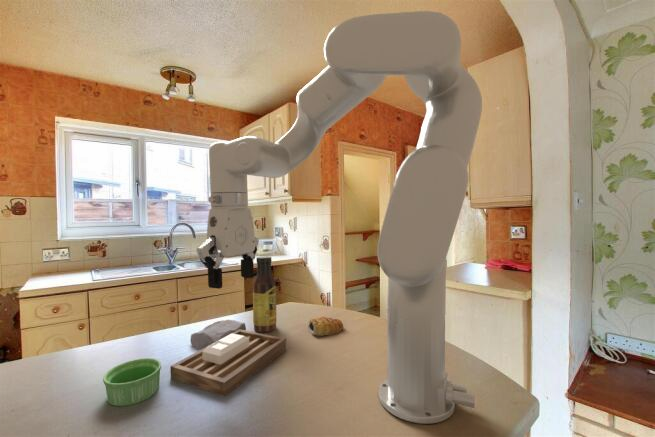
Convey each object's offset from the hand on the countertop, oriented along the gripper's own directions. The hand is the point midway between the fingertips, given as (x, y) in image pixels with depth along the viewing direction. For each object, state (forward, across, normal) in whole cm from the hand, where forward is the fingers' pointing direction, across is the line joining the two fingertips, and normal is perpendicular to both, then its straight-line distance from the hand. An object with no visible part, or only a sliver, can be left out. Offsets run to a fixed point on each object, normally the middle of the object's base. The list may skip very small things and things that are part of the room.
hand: (232, 282), depth 67 cm
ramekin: (+18, -16, +9) cm, 26 cm away
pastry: (+18, +23, -10) cm, 31 cm away
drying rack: (+18, 0, 0) cm, 18 cm away
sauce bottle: (+18, +18, +5) cm, 26 cm away
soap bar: (+16, 0, +2) cm, 16 cm away
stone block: (+18, +8, +13) cm, 23 cm away
